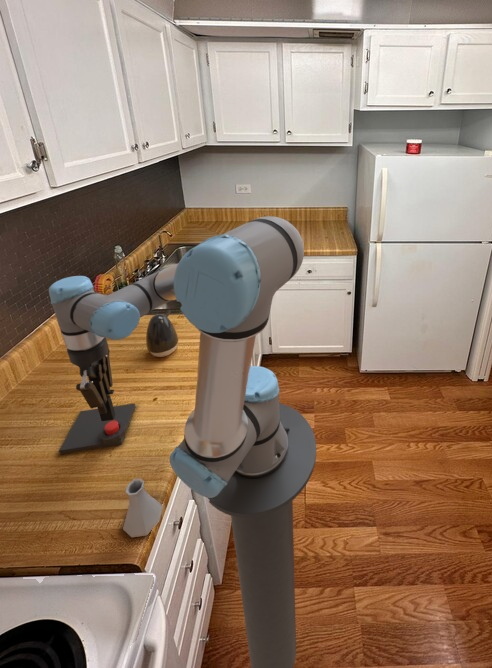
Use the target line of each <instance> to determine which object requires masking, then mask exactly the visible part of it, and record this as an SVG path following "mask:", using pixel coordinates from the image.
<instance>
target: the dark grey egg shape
mask: <svg viewBox="0 0 492 668" xmlns="http://www.w3.org/2000/svg"><path fill="white" fill-rule="evenodd" d="M171 313H172V311H171V310H170V309H168V310H167V311H166V312H165V313H164V314H162V313H157V314H154V315H153V316H152V317H151V318H150V319H149V322H148V324H147V327H146V333H145V334H146V335H145V342H146V343H145V345H146V349H147V351H148V352H149V353H150V354H151V356H154V357H157V358H164V357H167V356H169V355H171V354H172V353H174V352H175V351H176V349H177V347H178V343H179V336H178V333H177V329H176V327H175V326H174V324H173V323H172V321H171V319H169V318H168V317H169V315H170V314H171Z"/></svg>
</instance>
